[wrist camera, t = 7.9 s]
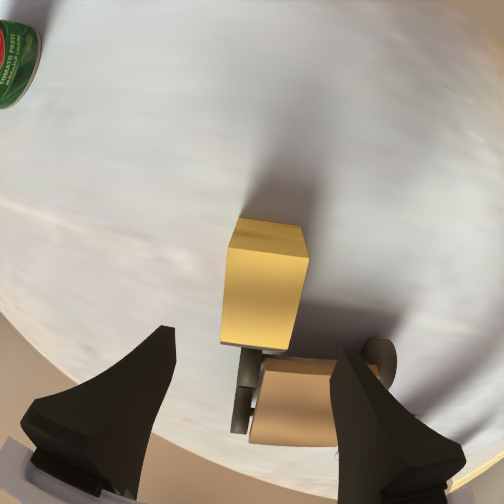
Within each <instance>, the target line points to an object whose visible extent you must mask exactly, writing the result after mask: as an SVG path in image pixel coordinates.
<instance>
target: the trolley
mask: <svg viewBox="0 0 504 504" xmlns="http://www.w3.org/2000/svg"><path fill="white" fill-rule="evenodd" d="M360 356H361V357H362V359H363V360H364V361H365V363H366V364H367V365H368V367H369V368H370V369H371V371H372V372H373V373H374V375H375V376H376V377H377V378H378V380H379V381H380V382H381V383H382V384H383V386H384V387H385V388H386V389H387V390H388V389H389V388H390V387H391V385H392V383H393V381H394V378H395V374H396V369H397V355H396V350H395V347H394V345H393V343H392V342H391V341H390V340H386V339H369V340H368V341H367V342H366V343H365V345H364V346H363V349H362V351H361V354H360ZM336 363H337V360H327V359H313V358H300V357H289V356H279V355H269V354H262V350H260V349H252V348H244V347H241V354H240V362H239V369H238V377H237V385H238V386H246V387H254V388H256V386H257V383H258V378H259V372H260V366H261V364H263V365H264V370H263V374H262V379H261V384H260V388H259V393H258V397H257V402H256V406H255V408H251V402H252V389H251V388H243V387H236V394H235V401H234V408H233V415H232V423H231V430H230V433H237V434H245V435H246V434H247V430H248V425H249V418H250V416H253V420H252V424H251V428H250V433H249V443H251V444H262V445H275V446H294V447H337V445H338V441H337V435H336V429H335V424H334V418H333V412H332V407H331V401H330V383H329V380H330V377H331V375H332V372H333V370H334V368H335V365H336Z"/></svg>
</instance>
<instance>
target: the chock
mask: <svg viewBox="0 0 504 504" xmlns="http://www.w3.org/2000/svg"><path fill="white" fill-rule="evenodd" d="M308 262H309V255H308V251H307V248H306V244H305V240H304V237H303V233H302V229H301V226H296V225H289V224H282V223H275V222H268V221H261V220H253V219H246V218H238V221H237V223H236V226H235V229H234V232H233V235H232V237H231V240H230V243H229V246H228V252H227V263H226V274H225V285H224V297H223V309H222V321H221V334H220V341H221V342H220V344H223V345H230V346H237V347H244V348H252V349H260V350H268V351H277V352H286V350H287V349H288V345H289V342H290V338H291V334H292V330H293V326H294V322H295V318H296V314H297V310H298V306H299V302H300V297H301V293H302V289H303V285H304V280H305V276H306V271H307V267H308Z"/></svg>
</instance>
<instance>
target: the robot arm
mask: <svg viewBox="0 0 504 504" xmlns="http://www.w3.org/2000/svg"><path fill="white" fill-rule="evenodd" d="M175 365H176V344H175V328H173V327H168V326H163V325H161V326H159V327H158V328H157V329H156V330H155V331H154V332H153V333H152V334H151V335H150V336H149V337H147V338H146V339H145V340H144V341H143V342H142V343H141V344H140V345H138V346H137V347H136V348H135V349H134V350H133V351H131V352H130V353H129V354H128V355H126V356H125V357H124V358H123V359H121V360H120V361H119V362H117V363H116V364H115V365H113V366H112V367H110V368H109V369H107V370H106V371H104V372H102V373H101V374H99V375H97V376H96V377H94V378H92V379H90V380H88V381H86V382H84V383H82V384H80V385H78V386H76V387H73V388H71V389H68V390H66V391H63V392H60V393H57V394H54V395H50V396H46V397H43V398H39V399H35V400H34V401H33V403H32V404H31V405H30V407H29V409H28V410H27V412H26V413H25V415H24V416H23V418H22V420H21V422H20V424H21V427H22V429H23V431H24V432H25V433H26V435H27V436H28V437H29V439H30V440H31V441H32V442H33V443H34V445H35V446H36V447H37V448H36V450H35V452H33V451H32V450H30V449H29V448H28V447H26V446H24V445H23V444H21V443H20V442H18V441H17V440H15V439H13V438H12V437H10V436H8V438H7V440H6V441H5V443H4V445H3V446H2V448H1V450H0V489H2V490H3V491H4V492H6V493H7V494H8V495H10V496H11V497H12V498H14V499H15V500H17V501H18V502H20V503H21V504H145V503H141V502H138V501H136V499H137V493H138V487H139V481H140V475H141V470H142V466H143V461H144V456H145V453H146V448H147V444H148V441H149V437H150V433H151V430H152V426H153V424H154V421H155V418H156V416H157V413H158V411H159V409H160V406H161V404H162V402H163V399H164V397H165V394H166V392H167V390H168V387H169V385H170V382H171V380H172V376H173V373H174V369H175ZM329 383H330V401H331V407H332V412H333V418H334V424H335V429H336V435H337V441H338V453H337V454H336V455H335V457H334V458H335V459H336V460H339V487H338V503H337V504H476V502H475V498H474V495H473V491H472V488H471V486H467V487H464V488H462V489H459V490H456V491H454V492H451V493H449V494H447V495H445V491H444V490H446V489H447V488H448V485H447V482H446V481H448V480H449V479H450V478H451V477H453V476H454V475H455V474H456V473H458V472H459V471H460V470H461V469H462V468H463V467H464V466H465V464H466V458H465V455H464V453H463V450H462V447H461V445H460V444H458V443H456V442H454V441H452V440H450V439H448V438H446V437H444V436H442V435H440V434H439V433H437V432H435V431H434V430H432V429H431V428H429V427H428V426H426V425H425V424H424V423H422V422H421V421H420V420H418V416H413V415H412V414H411V413H410V412H409V411H408V410H406V409H405V408H404V407H403V406H402V405H401V404H400V403H399V402H398V401H397V400H396V399H395V398H394V397H393V396H392V395H391V394H390V392H389V391H388V390H387V389H386V388H385V387H384V386H383V384H382V383H381V382H380V381H379V380H378V378H377V377H376V376H375V375H374V373H373V372H372V371H371V369H370V368H369V367H368V365H367V364H366V363H365V361H364V360H363V359H362V357H361V356H360V355H359V353H358V352H357V351H356V350H355V349H343V348H342V350H341V353H340V355H339V358H338V360H337V363H336V365H335V368H334V370H333V372H332V375H331V377H330V380H329Z"/></svg>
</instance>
